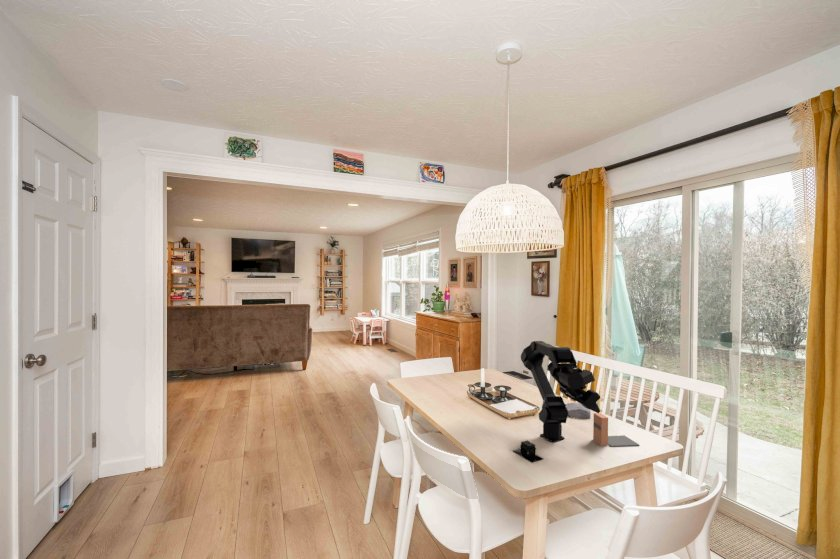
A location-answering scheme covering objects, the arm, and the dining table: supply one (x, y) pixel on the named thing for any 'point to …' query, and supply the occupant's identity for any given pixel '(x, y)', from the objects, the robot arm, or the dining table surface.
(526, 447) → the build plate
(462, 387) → the dining table surface
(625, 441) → the charcoal mat
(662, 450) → the dining table surface
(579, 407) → the stone block
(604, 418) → the terracotta block
